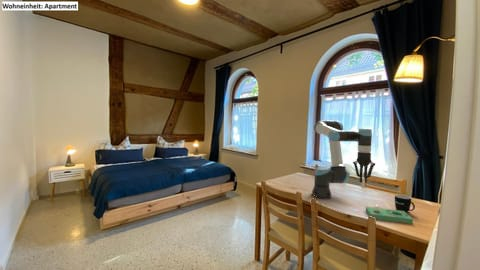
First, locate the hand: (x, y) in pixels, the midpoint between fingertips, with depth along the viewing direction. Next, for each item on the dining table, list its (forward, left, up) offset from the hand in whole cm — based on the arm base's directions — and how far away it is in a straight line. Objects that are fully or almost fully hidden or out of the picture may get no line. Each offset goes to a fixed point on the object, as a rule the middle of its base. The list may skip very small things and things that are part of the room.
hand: (362, 187), depth 139 cm
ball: (+9, 0, -13) cm, 16 cm away
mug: (+29, +13, -18) cm, 37 cm away
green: (+15, 0, -18) cm, 23 cm away
